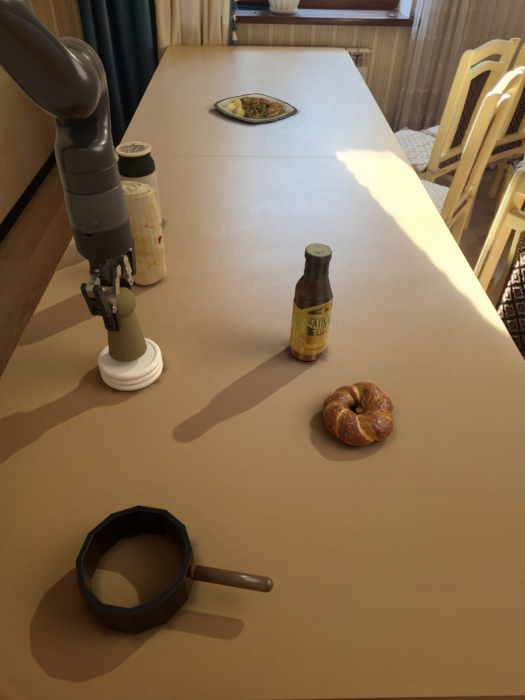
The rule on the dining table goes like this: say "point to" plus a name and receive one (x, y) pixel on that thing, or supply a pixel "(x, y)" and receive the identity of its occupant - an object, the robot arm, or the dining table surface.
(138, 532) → the pan
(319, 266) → the sauce bottle
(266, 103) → the meal
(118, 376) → the coaster
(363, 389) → the pretzel
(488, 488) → the dining table surface
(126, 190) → the food model
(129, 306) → the olive green pawn
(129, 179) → the travel mug
